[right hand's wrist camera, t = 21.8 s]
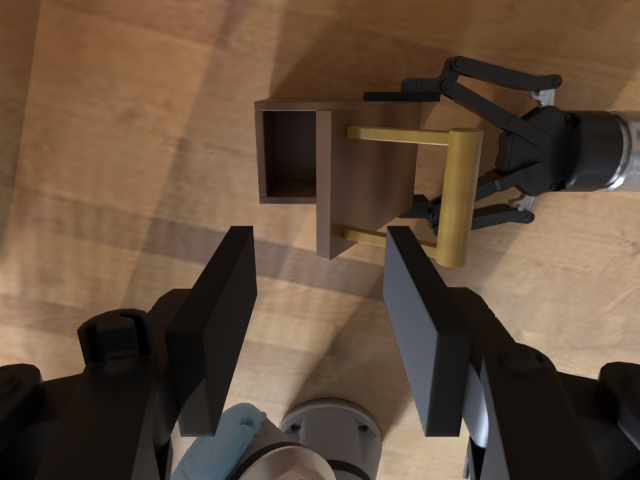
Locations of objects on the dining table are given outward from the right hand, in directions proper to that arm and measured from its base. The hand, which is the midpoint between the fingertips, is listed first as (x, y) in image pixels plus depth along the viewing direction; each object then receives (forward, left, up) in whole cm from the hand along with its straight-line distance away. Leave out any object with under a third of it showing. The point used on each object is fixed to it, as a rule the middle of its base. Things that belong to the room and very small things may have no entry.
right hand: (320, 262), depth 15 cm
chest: (0, -1, -32) cm, 32 cm away
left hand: (+2, -3, -26) cm, 26 cm away
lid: (+2, -3, -17) cm, 17 cm away
